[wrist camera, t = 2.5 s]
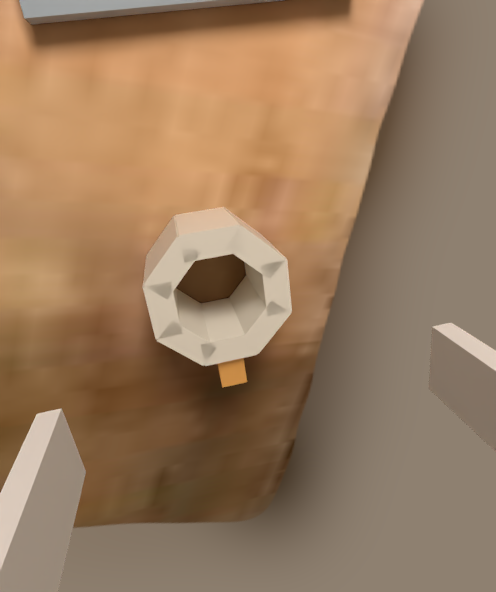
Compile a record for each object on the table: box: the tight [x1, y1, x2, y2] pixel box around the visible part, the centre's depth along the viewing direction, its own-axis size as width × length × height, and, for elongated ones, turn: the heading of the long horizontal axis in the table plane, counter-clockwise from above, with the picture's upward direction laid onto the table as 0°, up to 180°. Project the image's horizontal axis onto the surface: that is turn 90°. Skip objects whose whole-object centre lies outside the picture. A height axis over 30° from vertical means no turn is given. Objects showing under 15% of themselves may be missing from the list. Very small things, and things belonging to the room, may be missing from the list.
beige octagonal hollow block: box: [143, 207, 292, 388], centre depth 25 cm, size 8×10×6 cm
